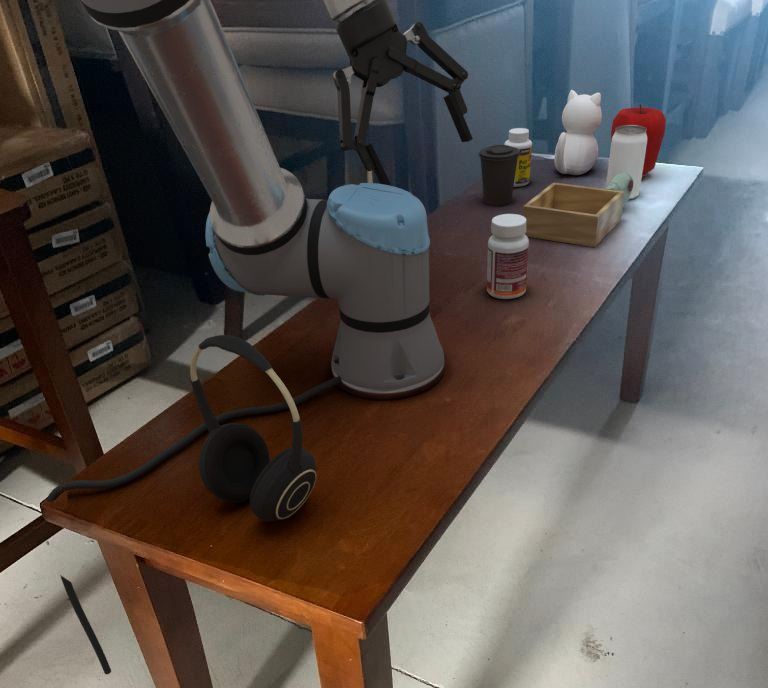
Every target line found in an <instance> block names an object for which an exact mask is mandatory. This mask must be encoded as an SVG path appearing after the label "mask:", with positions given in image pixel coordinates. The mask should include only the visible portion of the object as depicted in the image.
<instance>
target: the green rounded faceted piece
mask: <svg viewBox="0 0 768 688" xmlns="http://www.w3.org/2000/svg"><path fill="white" fill-rule="evenodd" d="M605 189H610V190H618V191H625V194H624V201H623V206H625V204H627V202H628V201H629V200H628V199H629V197H630V195H631V192H632V189H633V179H632V176H631V175H630V174H628V173H620V174H618V175H616V176H615V177H614V178H613V179H612V180H611V182H610V184H609V186H608V187H607V188H606V187H605Z"/></svg>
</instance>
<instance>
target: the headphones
mask: <svg viewBox="0 0 768 688" xmlns="http://www.w3.org/2000/svg"><path fill="white" fill-rule="evenodd" d="M208 348H219V349H220V350H223V351H225V352H229V353H232V354H235V355H237V356H240V357H241V358H243V359H245V360H247V361H248V362H250V363H251V364H253V365H254V366H256V367H257V368H258V369H260V370H261V371H262V372H263V373H266V374H267V375H268V376H269V377H270V379H271V380H272V382H274V384H275V385H276V387H277V388H278V390H279V391H280V392H281V394H282V396H283V398H284V400H285V401H287V403H288V406H289V408H288V409H289V410H290V414H291V417H292V419H291V427H292V428H291V430H292V431H291V432H292V440H291V447H290V448H287V449H284V450H282V451H281V452H279V453H278V454H277V455H275V456H274V457H273V458H272V459H270V458H271V456H270V451H269V448H268V445H267V443H266V441H265V439H264V437H263V436H262V435H261V434H260V433H259V432H258V431H257V430H256V429H255V428H253V427H252V426H250V425H248V424H244V423H239V422H230V423H229V422H228V423H225V424H222V425H220V423H218V421H217V419H216V415H215V413H214V411H213V409H212V407H211V405H210V403H209V401H208V398H207V396H206V395H205V393H204V388H203V386H202V383H201V380H200V378H199V377H198V373H197V364H198V359H199V356H200V354H201V352H202V351H203V350H206V349H208ZM189 370H190V372H189V373H190V379H191V380H190V385H191V387H192V390H193V393H194V394H193V395H194V397H195V400H196V403H197V406H198V410H199V411H200V414H201V416H202V419H203V421H204V423H205V424H206V426H207V428H208V430H207V431H208V433H209V434H208V436H206V438H205V439H204V441H203V443H202V445H201V449H200V452H199V456H198V457H199V458H198V470H199V476H200V478H201V481H202V483H203V485H204V487H205V489H206V490H207V491H208V492H209V493H210V494H211V495H213V496H214V497H215V498H217V499H219V500H221V501H223V502H227V503H235V504H236V503H242V502H246V501H249V508H250V510H251V512H252V514H253V515H254V516H255V517H256V518H258V519H259V520H261V521H262V522H276V521H280V520H285V519H288V518H289V517H291V516H292V515H293V514H295V513H296V512H297V511H298V510H299V509H300V508H301V507H302V506H303V505H304V503H306V501H307V500H308V498H309V497H310V495H311V494H312V492H313V490H314V488H315V485H316V482H317V465H316V460H315V457H314V456H313V454H312V453H310V452H309V451H308V450H306V449H305V448H303V439H304V438H303V437H304V436H303V427H302V418H301V417H300V415H299V411H298V409H297V405H295V403H294V401H293V397H292V395H291V393H290V391H289V390H288V388H287V387H286V385H285V384H284V382H283V381H282V380H281V378H280V377H279V376H278V375H277V373H276V371H274V369H273V366H272V364H271V363H270V362H269V361H268V359H266V357H265V356H264V355H263V354H262V352H260V351H259V350H258V349H257V348H256V347H254V346H253V345H252V344H251V343H249V342H248V341H246V340H245V339H242V338H240V337H238V336H234V335H228V334H217V335H214V336H210V337H206V338H205V339H204V340H203V341H201V342H200V343H199V344H198V346H197V349H196V350H195V351H194V353H193V354H192V357H191V361H190V369H189Z"/></svg>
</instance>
